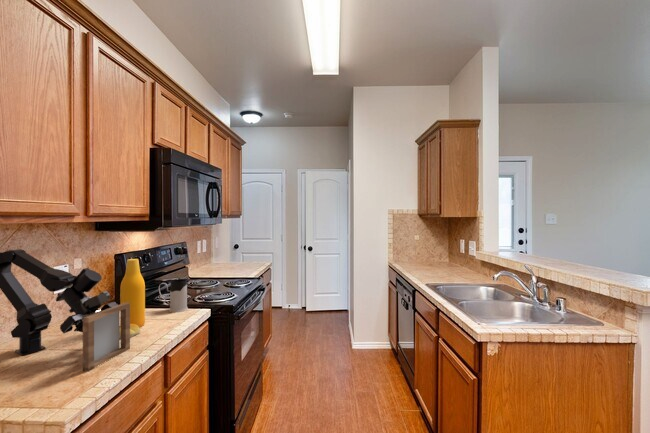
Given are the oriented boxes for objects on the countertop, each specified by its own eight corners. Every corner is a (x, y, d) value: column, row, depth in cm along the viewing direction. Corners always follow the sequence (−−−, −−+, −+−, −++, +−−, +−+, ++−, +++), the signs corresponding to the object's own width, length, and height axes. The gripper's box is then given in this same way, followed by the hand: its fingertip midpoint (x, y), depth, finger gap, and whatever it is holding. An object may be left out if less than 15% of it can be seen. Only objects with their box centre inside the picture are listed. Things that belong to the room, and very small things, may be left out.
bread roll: (108, 338, 125) (108, 327, 125) (130, 330, 133) (130, 320, 133) (123, 341, 122) (123, 330, 122) (144, 333, 130) (144, 323, 130)
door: (72, 364, 101) (72, 320, 101) (105, 348, 113) (105, 309, 113) (88, 365, 100) (88, 321, 100) (119, 349, 112) (119, 309, 112)
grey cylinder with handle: (184, 312, 157) (184, 282, 157) (154, 312, 156) (154, 282, 156) (190, 307, 166) (190, 278, 166) (162, 307, 165) (162, 278, 165)
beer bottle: (115, 330, 133) (115, 261, 133) (128, 322, 142) (128, 258, 142) (137, 330, 133) (137, 261, 133) (149, 322, 142) (149, 258, 142)
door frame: (82, 370, 98) (82, 317, 98) (124, 348, 115) (124, 302, 115) (88, 371, 97) (88, 317, 97) (129, 348, 114) (129, 302, 114)
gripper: (67, 292, 102) (98, 328, 100) (114, 280, 120) (140, 310, 119) (46, 315, 103) (76, 351, 102) (95, 300, 122) (121, 330, 120)
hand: (106, 334), depth 111 cm, fingers open, 5 cm apart
